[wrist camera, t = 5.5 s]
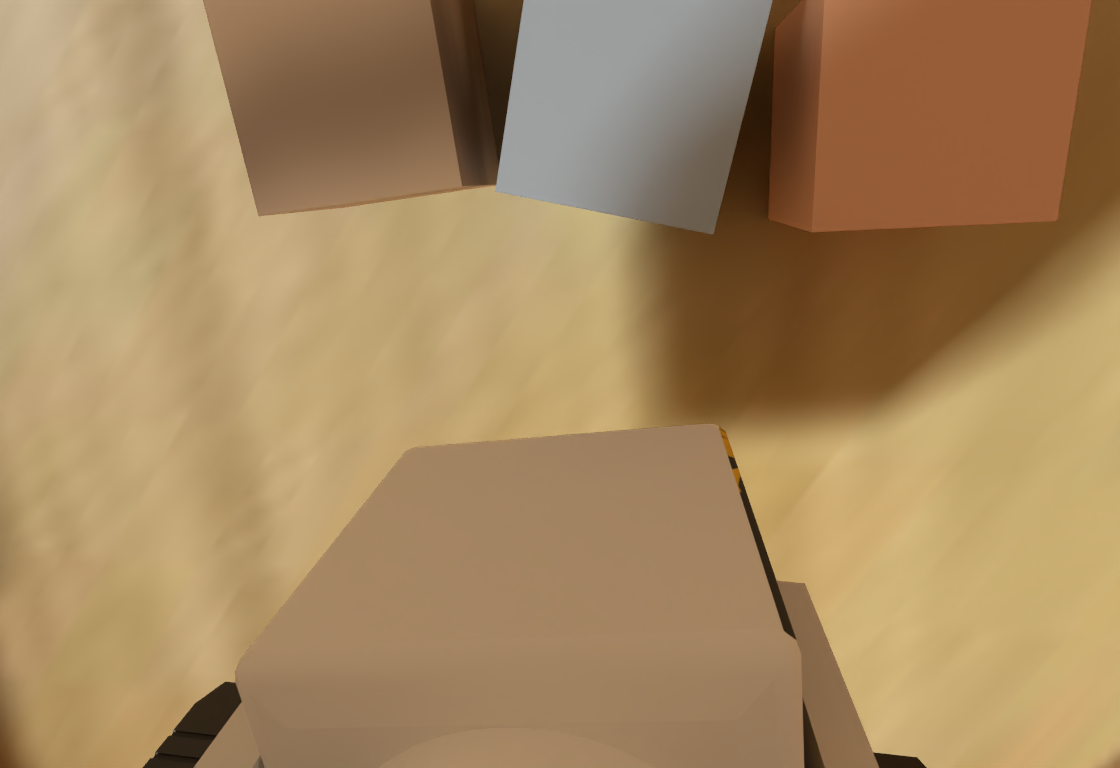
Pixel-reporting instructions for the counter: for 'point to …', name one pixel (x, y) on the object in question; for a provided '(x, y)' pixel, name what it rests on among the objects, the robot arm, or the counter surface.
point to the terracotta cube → (923, 112)
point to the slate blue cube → (630, 105)
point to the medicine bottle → (538, 617)
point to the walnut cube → (355, 99)
